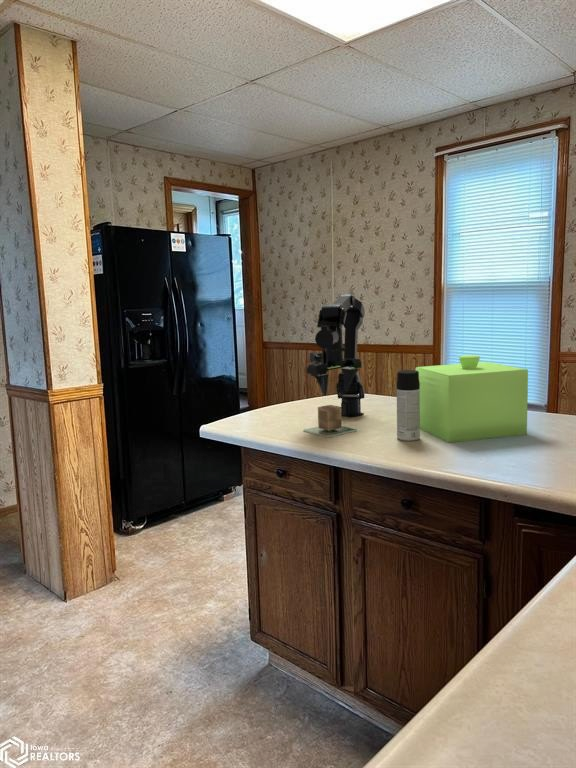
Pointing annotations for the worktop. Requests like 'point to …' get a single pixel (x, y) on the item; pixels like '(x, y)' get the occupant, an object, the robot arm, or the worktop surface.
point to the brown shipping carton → (329, 417)
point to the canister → (473, 400)
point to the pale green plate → (329, 433)
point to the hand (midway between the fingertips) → (335, 392)
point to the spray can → (408, 405)
